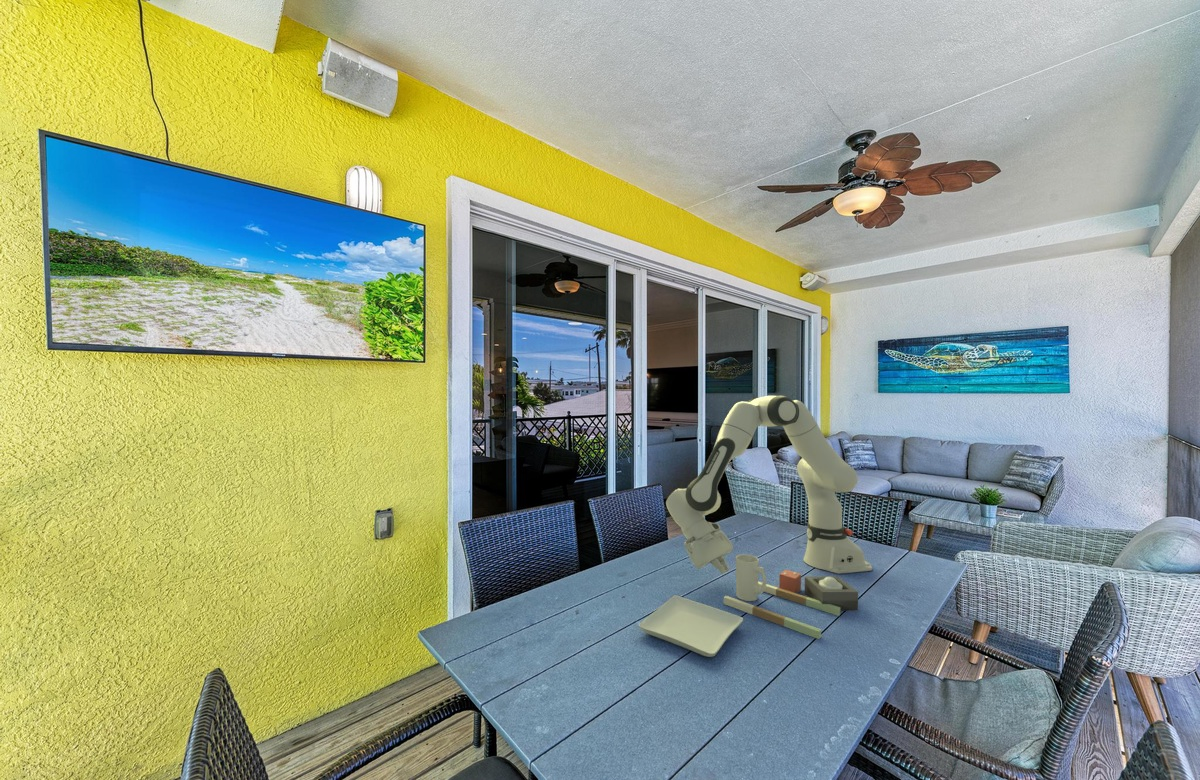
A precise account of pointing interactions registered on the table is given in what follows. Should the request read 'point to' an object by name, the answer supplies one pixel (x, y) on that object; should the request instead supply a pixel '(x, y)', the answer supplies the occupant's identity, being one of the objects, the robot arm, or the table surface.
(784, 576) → the die
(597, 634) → the table surface
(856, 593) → the dome housing
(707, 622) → the salad plate
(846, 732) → the table surface
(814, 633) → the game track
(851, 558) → the robot arm
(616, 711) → the table surface
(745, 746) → the table surface
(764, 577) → the mug
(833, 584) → the pop dome
